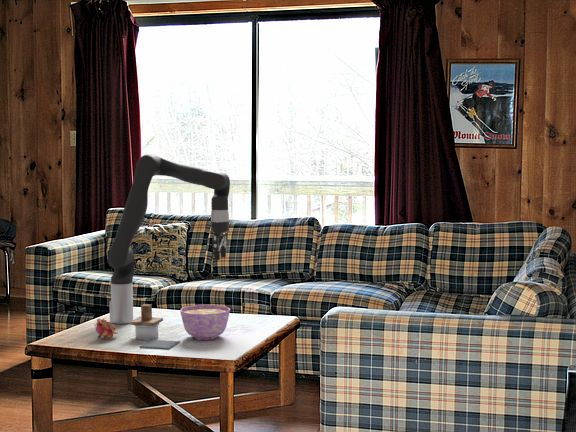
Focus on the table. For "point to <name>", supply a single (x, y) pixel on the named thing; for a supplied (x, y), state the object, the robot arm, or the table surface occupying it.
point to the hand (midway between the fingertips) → (220, 258)
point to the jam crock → (146, 332)
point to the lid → (146, 317)
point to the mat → (159, 344)
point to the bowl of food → (205, 320)
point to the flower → (105, 329)
